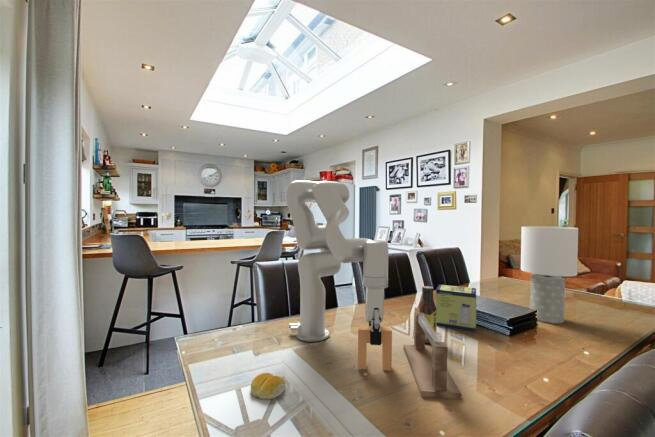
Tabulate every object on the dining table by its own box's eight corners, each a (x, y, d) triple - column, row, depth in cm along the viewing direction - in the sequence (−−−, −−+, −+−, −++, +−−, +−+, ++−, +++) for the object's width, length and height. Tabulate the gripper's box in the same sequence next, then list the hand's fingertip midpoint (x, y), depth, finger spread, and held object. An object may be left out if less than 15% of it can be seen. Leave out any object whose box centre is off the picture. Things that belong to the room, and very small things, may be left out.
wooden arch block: (357, 368, 93) (358, 329, 92) (357, 364, 96) (358, 325, 95) (391, 370, 92) (392, 330, 92) (390, 365, 95) (390, 327, 95)
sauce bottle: (437, 345, 110) (438, 290, 110) (419, 343, 111) (420, 288, 111) (434, 337, 117) (435, 285, 116) (417, 336, 118) (418, 284, 117)
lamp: (539, 309, 152) (541, 226, 151) (587, 324, 133) (589, 228, 132) (509, 314, 145) (511, 226, 144) (554, 330, 125) (557, 228, 125)
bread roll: (265, 379, 87) (265, 365, 87) (289, 389, 82) (290, 374, 82) (243, 393, 80) (243, 378, 80) (268, 405, 75) (268, 388, 75)
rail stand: (421, 396, 79) (421, 346, 79) (403, 348, 107) (404, 311, 107) (461, 399, 78) (462, 348, 78) (432, 350, 106) (433, 312, 106)
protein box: (437, 318, 139) (438, 284, 138) (476, 324, 132) (476, 288, 132) (435, 325, 129) (435, 289, 129) (476, 332, 122) (476, 293, 122)
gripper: (362, 275, 102) (361, 327, 103) (363, 287, 85) (363, 351, 85) (385, 275, 102) (384, 328, 102) (391, 288, 84) (390, 352, 85)
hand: (374, 338), depth 94 cm, fingers open, 7 cm apart
